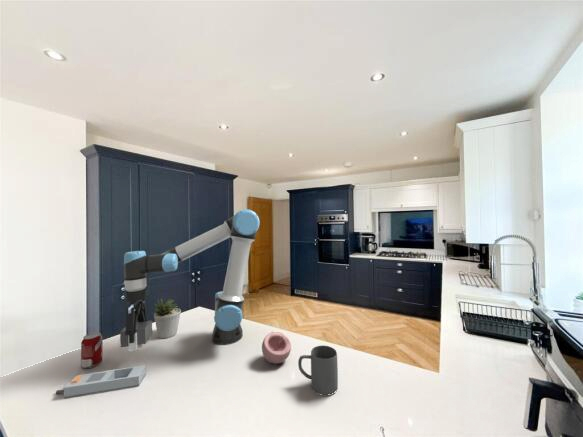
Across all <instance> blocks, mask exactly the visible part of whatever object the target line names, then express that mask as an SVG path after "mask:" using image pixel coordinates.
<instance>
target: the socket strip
mask: <svg viewBox="0 0 583 437" xmlns="http://www.w3.org/2000/svg"><path fill="white" fill-rule="evenodd" d="M146 368H147V367H146V364H142V365H137V366H129V367H124V368H116V369H110V370H109V369H108V370H103V371H97V372H87V373H84V374H77V375H75V377H73V378H72V379H71V380H70V381H69V383H67V384H66V385H65V386H64V387H63V389H60V390H56V391H55V394H56V395H59V394H63V399H70V398H76V397H82V396H88V395H96V394H100V393H107V392H113V391H118V390H124V389H129V388H130V389H131V388H135V387H136V388H137V387H139V386H140V385H141V383H142V382H143V380H144V378H145V376H146V375H147V373H146V372H147V370H146Z"/></svg>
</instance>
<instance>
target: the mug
mask: <svg viewBox="0 0 583 437" xmlns="http://www.w3.org/2000/svg"><path fill="white" fill-rule="evenodd" d="M303 359H310V374H308V373H307V372H306V371H305V370H304V368H303V366H302V361H303ZM297 366H298V371H300V373H301V375H303V376H304V377H305V378H307V379H309V380H311V381H310V382H311V388H312V390H313V392H314V391H315V392H314V393H316V394H317V393H319V394H322V395H328V394H332V393H334V392H335V391H336V390H337V391H338V386H339V384H338V383H339V382H338V380H339V376H338V374H339V373H338V372H339V371H338V368H339V367H338V352H337V350H336V349H335V348H333V347H332V346H330V345H316V346H315V347H313V348H312V349H311V351H310V355H309V354H308V355H307V354H303V355H300V356H299V358H298V363H297ZM337 391H336V392H337ZM319 394H318V395H319ZM334 394H335V393H334ZM322 395H321V396H322Z"/></svg>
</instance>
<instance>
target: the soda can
mask: <svg viewBox="0 0 583 437" xmlns="http://www.w3.org/2000/svg"><path fill="white" fill-rule="evenodd" d="M82 338H83V339H82V340H81V343H80V345H81V346H80V349H81V351H80V367H81V368H83V369H91V368H95V367H96V366H98V365H99V364H100V363H102V362H103V349H104V348H103V344H104V343H103V340H104V339H103V336H102V334H101V332H100V331H99V332H91V333H88V334H86V335H84V336H83V337H82Z"/></svg>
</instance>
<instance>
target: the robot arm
mask: <svg viewBox="0 0 583 437" xmlns="http://www.w3.org/2000/svg"><path fill="white" fill-rule="evenodd" d="M260 224H261V223H260V218H259V216H258V214H257V213H256V212H255V211H253V210H251V209H245V208H244V209H241V210H238V211H237V212H236V213H235V214H234V215H233V216H232V217H230V218H228V219H226V220H224V222H223V224H220V225H218V226H217V227H214V228H213V229H210V230H208V231H205V232H204V233H202V234H200V235H197V236H195V237H194V238H191V239H190V240H187V241H185V242H183V243H181V244H179V245H176V246H175V247H173V248H171V249H169V250H166V251H164V252H163V253H160V254H148V255H147V253H146V251H144V250H135V251H128V252H125V253H124V255H123V274H124V281H123V285H124V290H125V291H124V301H127V302H129V305H128V307H126V308H125V314H126V315H125V327H126V331H125V335H128V344H129V346H128V352H132V351H133V352H135V351H137V350H138V346H137V333H136V325H137V322H143V321H148V318H147V315H148V314H147V308H146V297H147V295H148V294H147V293H148V291H147V288H146V287H148V286H147V274H156V273H170V272H175V271H176V270H178V265H179V263H182V262H183V261H185V260H187V259H190V258H191V257H193V256H195V255H197V254H200V253H201V252H203V251H205V250H208V249H209V248H211V247H213V246H215V245H218V244H219V243H222V242H223V241H225V240H227V239H229V238H231V240H232V243H231V247H230V252H229V258H228V264H227V269H226V274H225V279H224V284H223V288H222V291H218V292H216V293H215V295H214V300H215V302H214V316H213V320H214V327H213V330H212V333H211V342H213V343H214V344H217V345H229V344H233V343H236V342H238V341H240V340H241V339H242V338H243V336H244V334H243V333H244V332H243V328H242V325H241V323H242V321H243V318H244V317H243V306H244V300H245V297H244V296H243V294H242V293H243V289H244V284H245V279H246V273H247V272H246V271H247V269H248V268H247V267H248V262H249V256H250V251H251V246H252V243H253V242H255V241H256V237H257V231H258V230H259V227H260Z"/></svg>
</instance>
